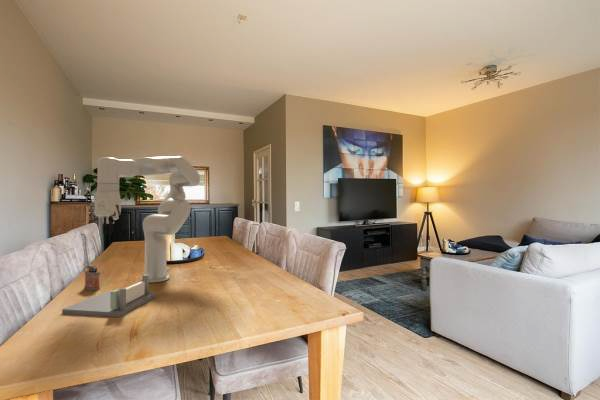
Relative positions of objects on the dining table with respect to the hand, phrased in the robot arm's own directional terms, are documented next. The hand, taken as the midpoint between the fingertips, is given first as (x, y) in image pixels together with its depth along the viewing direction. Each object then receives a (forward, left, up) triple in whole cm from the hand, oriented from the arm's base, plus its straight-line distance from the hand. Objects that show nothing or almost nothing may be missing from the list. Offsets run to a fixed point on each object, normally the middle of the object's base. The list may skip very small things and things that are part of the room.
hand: (108, 233), depth 123 cm
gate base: (+10, +10, -25) cm, 29 cm away
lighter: (-7, -13, -25) cm, 29 cm away
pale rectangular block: (+11, +17, -23) cm, 31 cm away
